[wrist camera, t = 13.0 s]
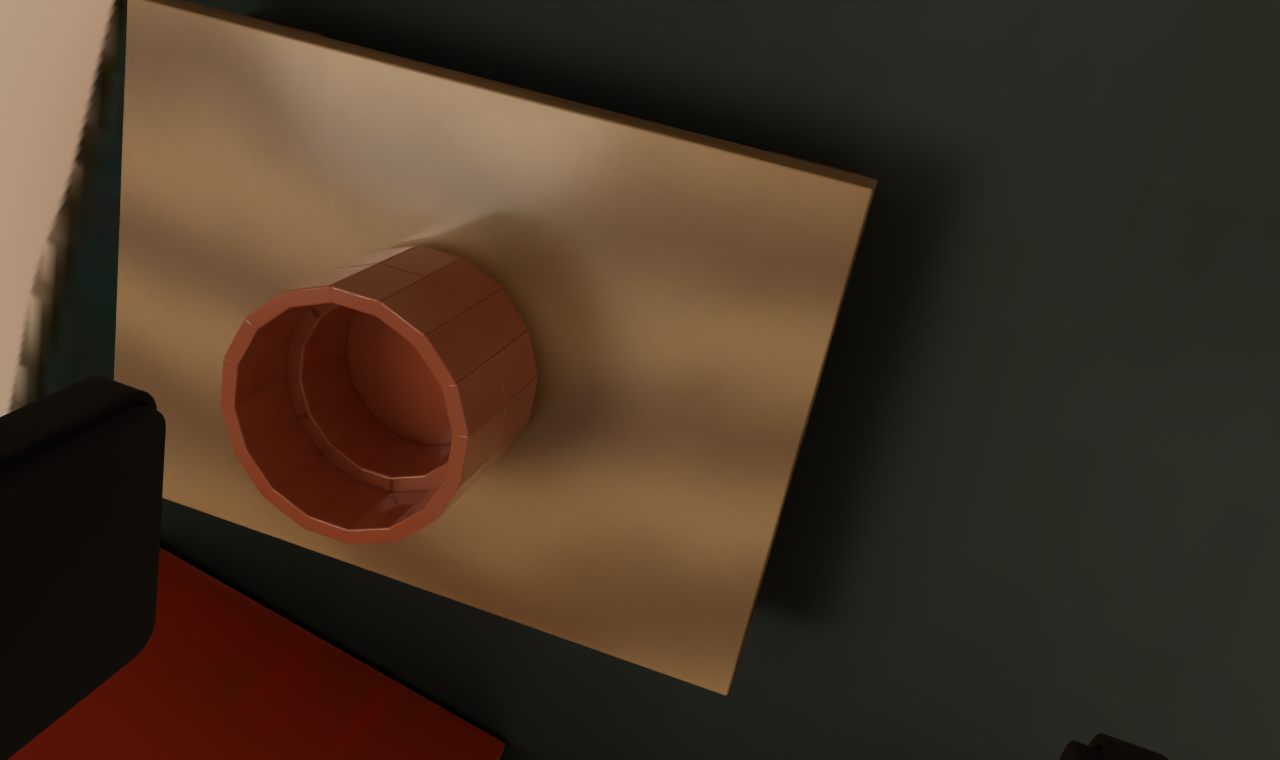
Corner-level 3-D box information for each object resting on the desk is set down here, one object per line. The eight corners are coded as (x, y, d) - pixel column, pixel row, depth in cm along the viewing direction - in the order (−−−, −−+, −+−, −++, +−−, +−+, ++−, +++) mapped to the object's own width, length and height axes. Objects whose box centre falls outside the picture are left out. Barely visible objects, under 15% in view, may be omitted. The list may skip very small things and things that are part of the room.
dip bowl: (343, 215, 33) (230, 254, 28) (563, 278, 32) (486, 332, 27) (319, 426, 36) (211, 497, 31) (522, 493, 34) (444, 578, 29)
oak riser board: (230, -6, 37) (126, -6, 33) (887, 162, 33) (873, 189, 29) (201, 428, 43) (109, 479, 39) (755, 615, 39) (727, 697, 35)
